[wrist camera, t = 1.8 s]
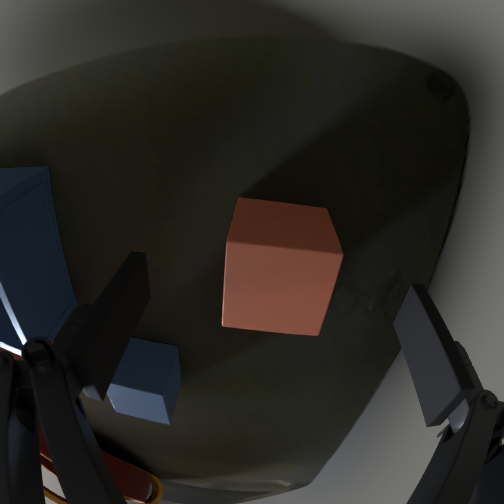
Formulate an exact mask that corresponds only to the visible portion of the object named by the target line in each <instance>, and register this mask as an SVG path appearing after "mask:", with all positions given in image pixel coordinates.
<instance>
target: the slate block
mask: <svg viewBox="0 0 504 504" xmlns="http://www.w3.org/2000/svg"><path fill="white" fill-rule="evenodd" d="M181 381H182V379H181V371H180V363H179V355H178V346H175V345H169V344H164V343H158V342H153V341H147V340H142V339H137V338H132V337H131V339H130V342H129V344H128V346H127V348H126V350H125V352H124V355H123V357H122V359H121V361H120V363H119V366H118V368H117V370H116V372H115V375H114V377H113V379H112V381H111V384H110V386H109V388H108V391H107V395H108V397H109V399H110V401H111V403H112V405H113V407H114V409H115V411H116V412H119V413H122V414H126V415H130V416H134V417H138V418H142V419H146V420H150V421H155V422H159V423H164V424H169V425H170V424H171V420H172V416H173V412H174V408H175V404H176V400H177V396H178V392H179V388H180V384H181Z"/></svg>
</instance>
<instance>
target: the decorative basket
mask: <svg viewBox="0 0 504 504" xmlns="http://www.w3.org/2000/svg"><path fill="white" fill-rule="evenodd" d="M39 439H40V458H41V465H42V466H43V467H44V468H46V469H47V470H49V471H50V472H51V473H52V474H54V475H55V476H56V477H57V475H56V472H55V469H54V466H53V464H52V461H51V458H50V454H49V451H48V448H47V445H46V441H45V438H44V434H43V431H42V427H41V423H40V419H39ZM101 452H102V455H103V457H104V459H105V461H106V463H107V465H108V468H109V470H110V472H111V474H112V476H113V478H114V480H115V482H116V484H117V486H118V487H119V489H120V491H121V493H122V495H123V497H124V499H125V500H130V501H134V502H139V503H141V504H157V503H158V502H159V500H160V499H161V497H162V495H163V486H162V483H161V481H160V480H159V479H158V478H157V477H156V476H155V475H153V474H151V473H149V472H147V471H145V470H143V469H141V468H138V467H136V466H134V465H132V464H129V463H127V462H125V461H122V460H120V459H118V458H116V457H114V456H112V455H110V454H108V453H106V452H104V451H102V450H101ZM150 483H151V484H152V494H151V496H150V497H149V498H148V499H147V500H146V498H147V494H148V490H149V487H150ZM43 489H44V495H45V496H46V497H48V498H49V499H51V500H52V501H54V502H56V503H58V504H68V503H67V500H66V499H65V498H63V497H61V496H59V495H57V494H55V493H54V492H52V491H50V490H49V489H48V488H46V487H45V486H43Z"/></svg>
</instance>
